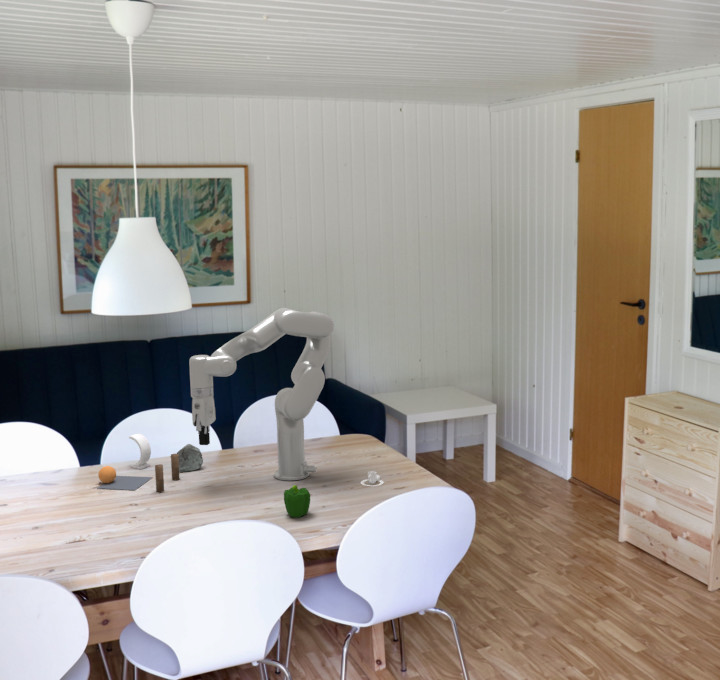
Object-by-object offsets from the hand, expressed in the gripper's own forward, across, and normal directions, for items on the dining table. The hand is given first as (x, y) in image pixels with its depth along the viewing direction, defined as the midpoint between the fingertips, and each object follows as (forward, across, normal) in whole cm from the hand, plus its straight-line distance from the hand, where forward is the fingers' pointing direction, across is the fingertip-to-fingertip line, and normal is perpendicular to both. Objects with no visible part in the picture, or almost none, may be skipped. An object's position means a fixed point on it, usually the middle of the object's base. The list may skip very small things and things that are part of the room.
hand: (204, 444), depth 278 cm
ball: (+12, -1, +36) cm, 38 cm away
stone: (+15, +19, +14) cm, 28 cm away
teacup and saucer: (+16, +13, -59) cm, 62 cm away
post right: (+15, +6, +14) cm, 22 cm away
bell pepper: (+15, -22, -38) cm, 46 cm away
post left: (+15, -7, +14) cm, 22 cm away
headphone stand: (+15, +19, +33) cm, 41 cm away
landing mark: (+15, 0, +30) cm, 34 cm away
